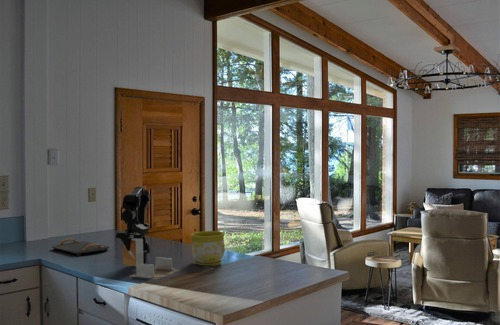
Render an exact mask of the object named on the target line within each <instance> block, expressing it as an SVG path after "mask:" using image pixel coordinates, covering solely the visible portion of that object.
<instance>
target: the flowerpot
mask: <svg viewBox="0 0 500 325" xmlns="http://www.w3.org/2000/svg"><path fill="white" fill-rule="evenodd" d="M224 236H225V232H223V231H219V230H212V231H211V230H208V231H207V230H206V231H198V232H197V231H196V232H191V234H190V237H191V245H190V246H191V255H192V257H193V259H194V260H195V261H194V263H195V264H196V265H199V266H214V267H215V266H216V267H217V266H219V265H220V264H221V263H222V261H223V260H222V258H223V256H225V250H226V246H225V245H226V244H225V238H224Z"/></svg>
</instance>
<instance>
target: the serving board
mask: <svg viewBox="0 0 500 325" xmlns="http://www.w3.org/2000/svg"><path fill="white" fill-rule="evenodd" d="M69 241H71V242H69ZM72 241H73V242H72ZM67 242H68V243H67ZM52 248H53V251H57V250H60V251H63V252H67V253H72V254H75V255H76V256H77V257H82V254H86V253H92V252H94V253H95V252H98V251H99V252H100V251H104V252H108V251H109V249H110V246H107V245H101V244H98V243H95V242H94V243H93V242H88V241H79V240H76V239H74V238H66V239H63V240H61V241H60V242H59V243H57V244H55V245H52V246H51V249H52Z"/></svg>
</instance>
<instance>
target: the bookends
mask: <svg viewBox="0 0 500 325" xmlns="http://www.w3.org/2000/svg"><path fill="white" fill-rule="evenodd" d="M173 260H174V259H173V258H171V257H161V256H155V260H154V261H155V263H154V264H151V263H145V264H142V263H136V266H135V270H136V272H135V274H136V273H137V275H135V276H134V277H135V278H141V277H142V279H149V278H153V277H154V267H156V269H160V270H169V271H172V270H175V269H176V268H174V267H173V266H174V265H173V264H174V263H173ZM134 277H133V278H134Z"/></svg>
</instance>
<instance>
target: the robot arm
mask: <svg viewBox="0 0 500 325" xmlns="http://www.w3.org/2000/svg"><path fill="white" fill-rule="evenodd" d="M122 198H123V199H122V205H121V209H123V210H124V211H122V212H121V216H120V217H121V219H122V221H123V222H124V224H126V228H125V229H124V231H123V230H122V231H119V232H116V233H115V238H116V239H120V240H121V241H122V244H123V243H124V245H125V247H126V249H127V251H130V240H131V239H132V238H139V239H143V264H148V254H150V253H151V248H150V245H149V242H148V239H147V237H146V235H147V234H149V231H150V224H149V223H146V216H147V208H148V207H149V206H150V202H151V194H150V192H149V191H148V190H146V189H145V187H143V186H136V187H134V189H133V190H132V191H131V193H126V194H125V195H124V196H123V197H122ZM132 235H133V237H131V236H132Z"/></svg>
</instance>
